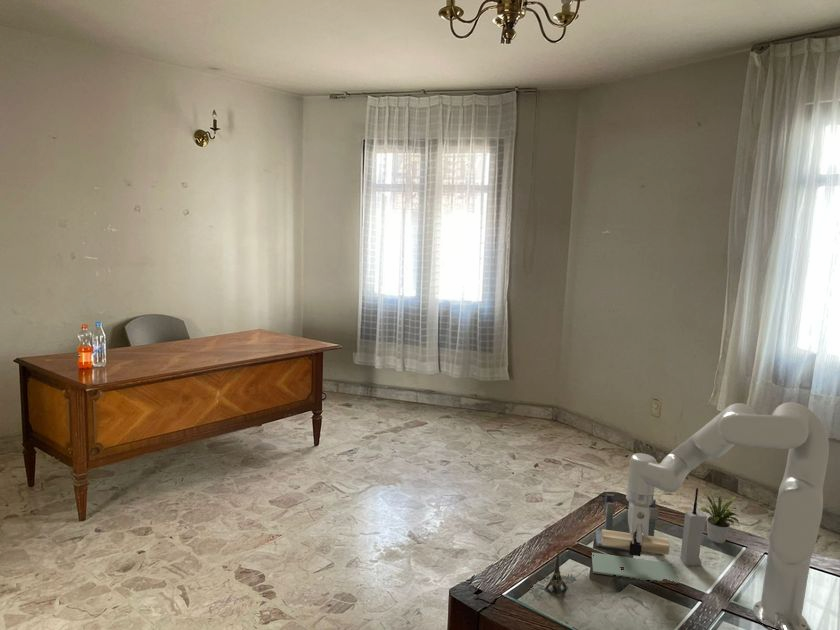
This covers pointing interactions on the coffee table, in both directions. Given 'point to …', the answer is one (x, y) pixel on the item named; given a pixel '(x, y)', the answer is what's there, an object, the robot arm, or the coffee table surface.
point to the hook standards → (609, 519)
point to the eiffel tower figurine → (552, 583)
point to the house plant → (719, 519)
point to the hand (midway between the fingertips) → (633, 550)
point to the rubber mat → (632, 567)
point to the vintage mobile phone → (692, 535)
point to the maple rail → (625, 538)
